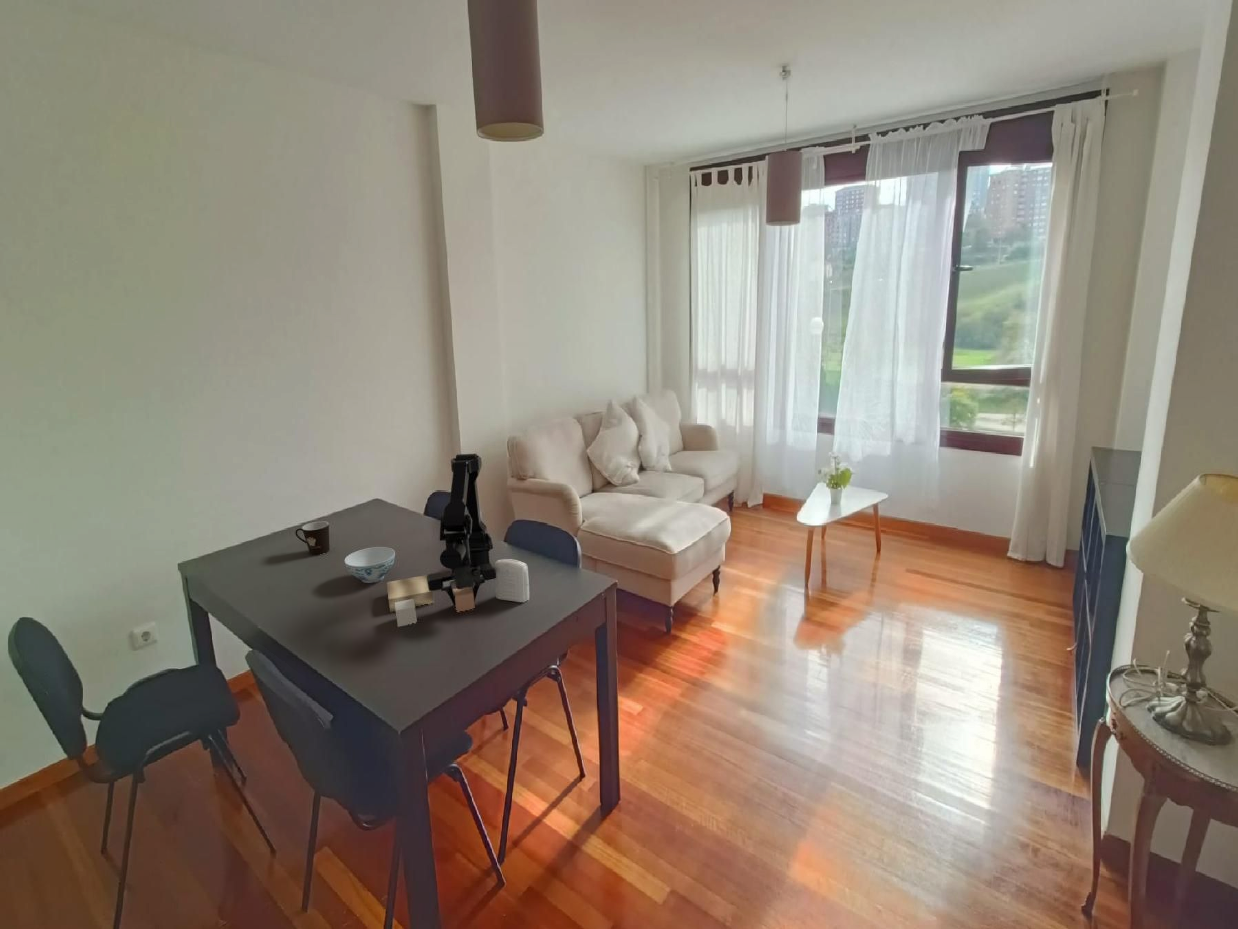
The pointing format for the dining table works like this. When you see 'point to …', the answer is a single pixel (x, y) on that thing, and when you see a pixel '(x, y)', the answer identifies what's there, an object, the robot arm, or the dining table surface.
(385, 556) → the chinaware
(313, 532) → the coffee mug
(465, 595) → the terracotta cube
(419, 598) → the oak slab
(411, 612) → the grey cube
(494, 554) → the dining table surface
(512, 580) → the white rounded block
